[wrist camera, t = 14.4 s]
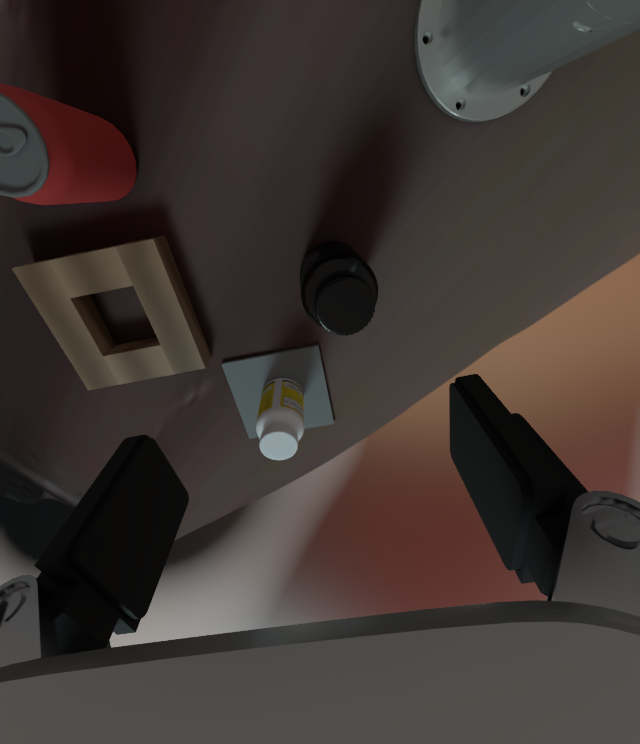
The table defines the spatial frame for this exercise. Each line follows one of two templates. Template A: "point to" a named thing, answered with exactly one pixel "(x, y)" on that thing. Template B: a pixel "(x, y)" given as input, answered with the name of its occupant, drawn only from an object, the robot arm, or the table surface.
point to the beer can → (60, 152)
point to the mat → (290, 364)
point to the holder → (86, 327)
